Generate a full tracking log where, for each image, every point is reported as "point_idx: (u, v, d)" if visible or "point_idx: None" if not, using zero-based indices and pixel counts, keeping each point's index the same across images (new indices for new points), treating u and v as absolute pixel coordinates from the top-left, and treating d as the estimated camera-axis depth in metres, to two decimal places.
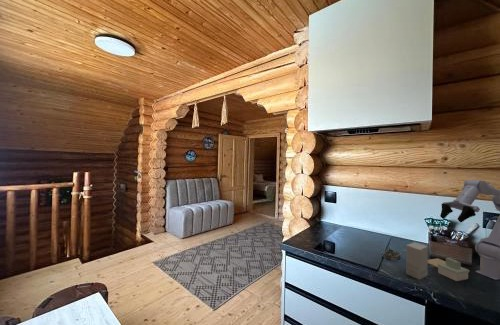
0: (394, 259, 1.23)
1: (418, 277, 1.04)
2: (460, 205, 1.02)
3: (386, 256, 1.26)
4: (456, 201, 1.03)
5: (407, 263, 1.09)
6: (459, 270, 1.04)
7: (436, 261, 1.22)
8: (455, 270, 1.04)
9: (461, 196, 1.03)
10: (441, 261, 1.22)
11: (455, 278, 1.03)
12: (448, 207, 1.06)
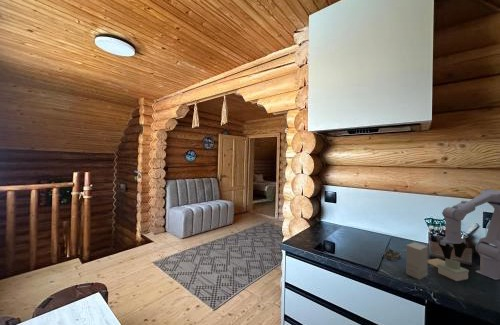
0: (394, 259, 1.23)
1: (418, 277, 1.04)
2: None
3: (386, 256, 1.26)
4: None
5: (407, 263, 1.09)
6: (458, 270, 1.04)
7: (436, 261, 1.22)
8: (454, 270, 1.04)
9: None
10: (441, 261, 1.22)
11: (455, 278, 1.03)
12: (456, 244, 1.09)
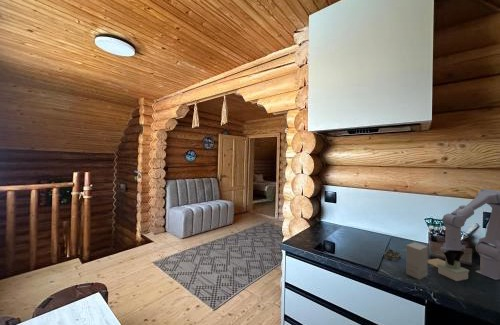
0: (395, 259, 1.23)
1: (418, 277, 1.04)
2: None
3: (387, 256, 1.26)
4: None
5: (407, 263, 1.09)
6: (459, 270, 1.04)
7: (436, 261, 1.22)
8: (454, 270, 1.04)
9: None
10: (441, 261, 1.22)
11: (455, 278, 1.03)
12: (453, 251, 1.08)
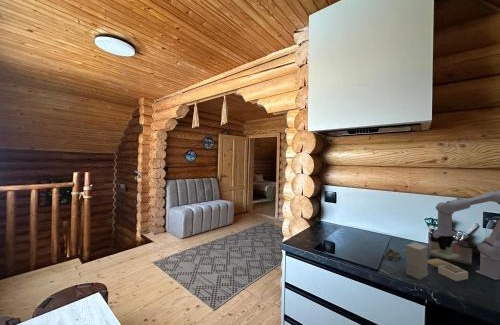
0: (396, 259, 1.23)
1: (418, 277, 1.04)
2: None
3: (388, 257, 1.25)
4: None
5: (407, 263, 1.09)
6: (450, 255, 1.12)
7: (436, 261, 1.22)
8: (447, 255, 1.12)
9: None
10: (441, 261, 1.22)
11: (455, 278, 1.03)
12: (445, 237, 1.16)
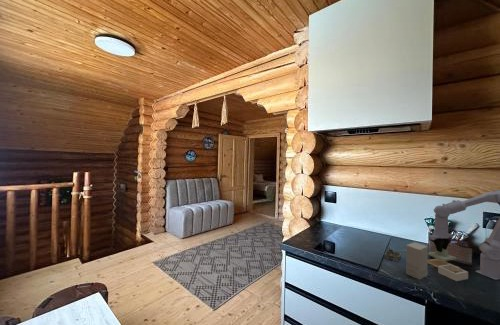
0: (396, 259, 1.23)
1: (418, 277, 1.04)
2: None
3: (388, 257, 1.25)
4: None
5: (407, 263, 1.09)
6: (447, 257, 1.15)
7: (436, 261, 1.22)
8: (443, 257, 1.15)
9: None
10: (441, 261, 1.22)
11: (455, 278, 1.03)
12: (442, 239, 1.20)
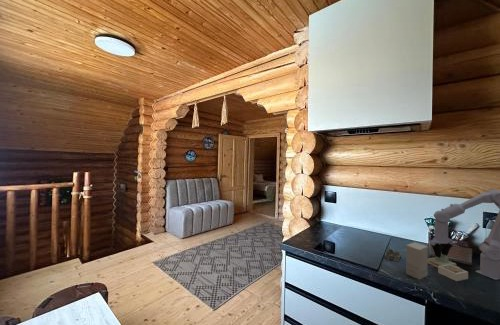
0: (397, 259, 1.23)
1: (418, 277, 1.04)
2: None
3: (389, 257, 1.25)
4: None
5: (407, 263, 1.09)
6: (447, 263, 1.15)
7: None
8: (443, 263, 1.15)
9: None
10: None
11: (455, 278, 1.03)
12: (443, 244, 1.20)
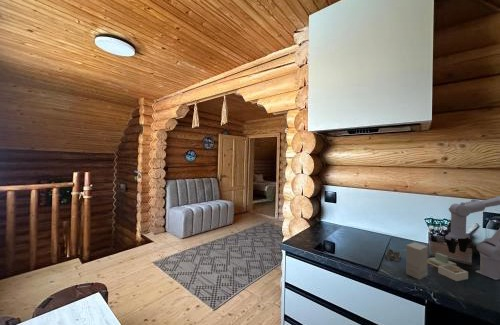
0: (398, 259, 1.23)
1: (418, 277, 1.04)
2: None
3: (389, 257, 1.25)
4: None
5: (407, 263, 1.09)
6: (447, 263, 1.15)
7: None
8: (443, 263, 1.15)
9: None
10: None
11: (455, 278, 1.03)
12: (461, 239, 1.13)
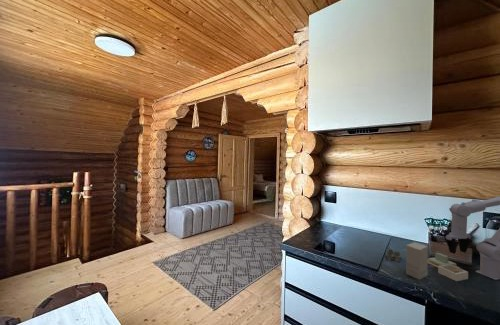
0: (398, 260, 1.23)
1: (418, 277, 1.04)
2: None
3: (390, 257, 1.25)
4: None
5: (407, 263, 1.09)
6: (447, 263, 1.15)
7: None
8: (443, 263, 1.15)
9: None
10: None
11: (455, 278, 1.03)
12: (462, 239, 1.13)
